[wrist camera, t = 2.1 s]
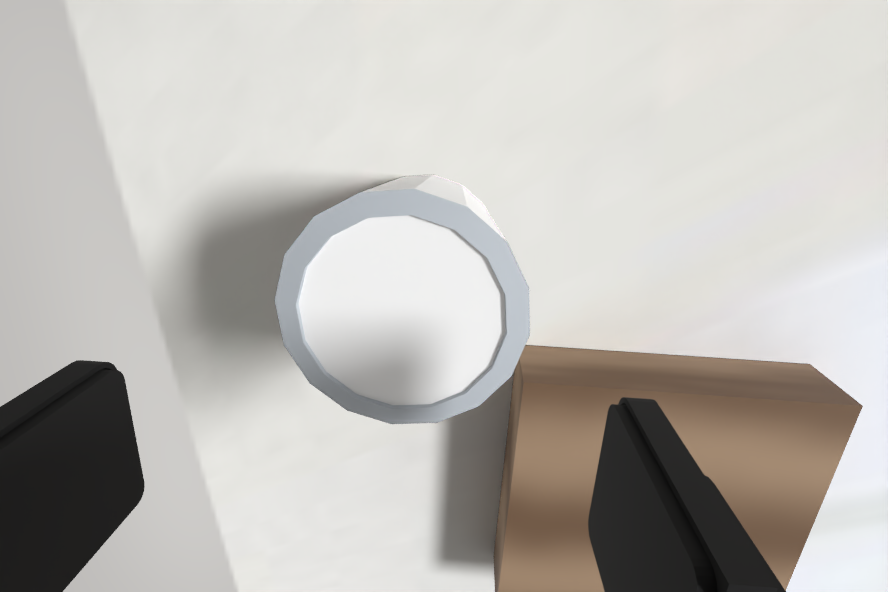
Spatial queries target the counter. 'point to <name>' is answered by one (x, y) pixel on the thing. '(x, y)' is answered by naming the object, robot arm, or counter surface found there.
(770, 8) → the counter surface
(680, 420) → the walnut base
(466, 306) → the white and grey cylinder
